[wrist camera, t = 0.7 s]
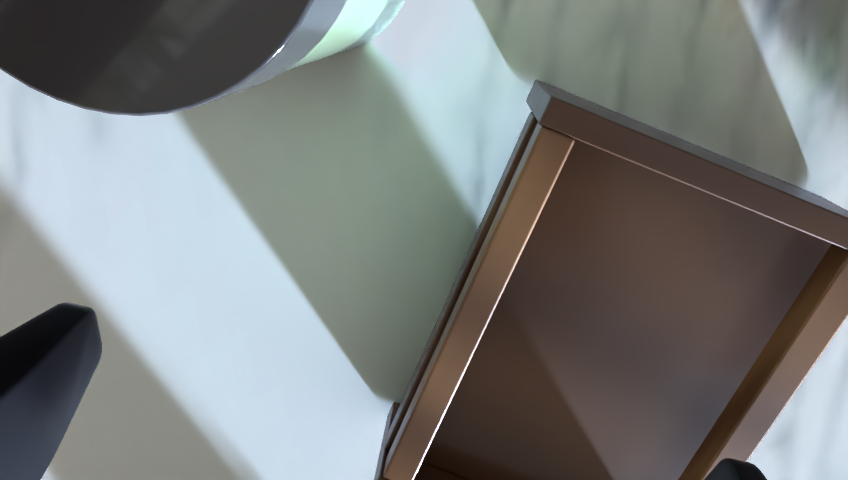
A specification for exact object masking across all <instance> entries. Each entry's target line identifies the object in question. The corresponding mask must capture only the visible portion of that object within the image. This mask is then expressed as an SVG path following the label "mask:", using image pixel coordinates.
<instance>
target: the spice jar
mask: <svg viewBox="0 0 848 480" xmlns="http://www.w3.org/2000/svg"><path fill="white" fill-rule="evenodd" d="M404 2H405V0H0V69H1V70H3V71H4V72H6V73H7V74H9V75H11V76H12V77H14V78H16V79H17V80H19V81H20V82H22V83H24V84H25V85H27V86H29V87H30V88H33V89H35V90H37V91H39V92H41V93H43V94H46V95H48V96H50V97H52V98H54V99H56V100H59V101H62V102H65V103H68V104H71V105H74V106H77V107H80V108H83V109H87V110H92V111H98V112H103V113H108V114H115V115H132V116H146V115H158V114H169V113H173V112H177V111H182V110H186V109H191V108H195V107H197V106H200V105H203V104H206V103H209V102H212V101H215V100H217V99H220V98H223V97H226V96H229V95H232V94H234V93H237V92H240V91H243V90H246V89H249V88H251V87H254V86H256V85H259V84H262V83H264V82H267V81H269V80H271V79H272V78H274V77H276V76H278V75H280V74H281V73H283V72H285V71H287V70H288V69H291V68H294V67H298V66H301V65H304V64H307V63H310V62H313V61H316V60H319V59H322V58H325V57H328V56H331V55H335V54H338V53H341V52H344V51H347V50H350V49H353V48H355V47H358V46H360V45H362V44H364V43H366V42H368V41H370V40H371V39H373V38H374V37H375V36H377V35H378V34H379V33H381V32H382V31H383V30H384V29H385V28H386V27H387V26H388V25H389V24H390V23H391V21H392V20H393V19H394V18H395V16H396V15H397V14H398V12H399V10H400V9H401V7H402V5H403V4H404Z"/></svg>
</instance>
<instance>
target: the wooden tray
mask: <svg viewBox="0 0 848 480" xmlns="http://www.w3.org/2000/svg"><path fill="white" fill-rule="evenodd" d="M526 102H527V104H528V105H529V107H530V109H531V111H532V112H531V113H530V114H529V116H528V119H527V121H526V123H525V125H524V128H523V130H522V132H521V134H520V137H519V139H518V141H517V143H516V145H515V148H514V150H513V152H512V154H511V157H510V159H509V161H508V163H507V166H506V168H505V170H504V172H503V175H502V177H501V179H500V181H499V184H498V186H497V188H496V190H495V193H494V195H493V197H492V199H491V202H490V204H489V206H488V208H487V211H486V213H485V215H484V217H483V220H482V222H481V224H480V226H479V229H478V231H477V233H476V235H475V238H474V240H473V242H472V244H471V247H470V249H469V251H468V253H467V256H466V258H465V260H464V262H463V265H462V267H461V269H460V271H459V274H458V276H457V278H456V280H455V283H454V285H453V287H452V289H451V292H450V294H449V296H448V298H447V301H446V303H445V305H444V307H443V310H442V312H441V314H440V316H439V319H438V321H437V323H436V325H435V328H434V330H433V332H432V334H431V336H430V339H429V341H428V343H427V345H426V348H425V350H424V352H423V354H422V357H421V359H420V361H419V363H418V366H417V368H416V370H415V372H414V375H413V377H412V379H411V381H410V384H409V386H408V388H407V390H406V393H405V395H404V397H403V399H402V402H401V404H400V403H398V402H394V403H393V405H392V407H391V409H390V412H389V414H388V416H387V421H386V426H385V431H384V435H383V440H382V445H381V450H380V454H379V459H378V464H377V469H376V474H375V478H374V480H704V479H705V478H706V477H707V476H708V474H709V473H710V472H711V471H712V470H713V469H714V468H715V466H716V465H717V464H718V463H719V462H720V461H721V460H723V459H725V458H731V459H736V460H740V461H744V462H747V461H748V460H749V458H750V457H751V455H752V454H753V453H754V451H755V450H756V448H757V447H758V445H759V444H760V442H761V441H762V439H763V438H764V437H765V435H766V434H767V432H768V431H769V429H770V428H771V426H772V425H773V424H774V422H775V421H776V419H777V418H778V416H779V415H780V413H781V412H782V410H783V409H784V408H785V406H786V405H787V403H788V402H789V400H790V399H791V397H792V396H793V395H794V393H795V392H796V390H797V389H798V387H799V386H800V384H801V383H802V381H803V380H804V379H805V377H806V376H807V374H808V373H809V371H810V370H811V368H812V367H813V365H814V364H815V363H816V361H817V360H818V358H819V357H820V355H821V354H822V352H823V351H824V350H825V348H826V347H827V345H828V344H829V342H830V341H831V339H832V338H833V336H834V335H835V334H836V332H837V331H838V329H839V328H840V326H841V325H842V323H843V322H844V320H845V319H846V318H847V316H848V211H847V210H845V209H843V208H842V207H840V206H838V205H836V204H834V203H832V202H830V201H828V200H827V199H825V198H823V197H821V196H818V195H816V194H814V193H811V192H809V191H806V190H804V189H802V188H799V187H797V186H794V185H792V184H789V183H787V182H785V181H782V180H780V179H777V178H775V177H772V176H770V175H768V174H765V173H763V172H760V171H758V170H755V169H753V168H751V167H748V166H746V165H743V164H741V163H739V162H736V161H734V160H731V159H729V158H726V157H724V156H722V155H719V154H717V153H714V152H712V151H709V150H707V149H705V148H702V147H700V146H697V145H695V144H692V143H690V142H688V141H685V140H683V139H680V138H678V137H675V136H673V135H671V134H668V133H666V132H663V131H661V130H659V129H656V128H654V127H651V126H649V125H646V124H644V123H642V122H639V121H637V120H634V119H632V118H629V117H627V116H625V115H622V114H620V113H617V112H615V111H612V110H610V109H608V108H605V107H603V106H600V105H598V104H596V103H593V102H591V101H588V100H586V99H583V98H581V97H579V96H576V95H574V94H571V93H569V92H566V91H564V90H562V89H559V88H557V87H554V86H552V85H549V84H547V83H545V82H542V81H540V80H535V82H534V85H533V87H532V89H531V91H530V94H529V96H528V98H527V100H526Z"/></svg>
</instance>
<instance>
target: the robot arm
mask: <svg viewBox="0 0 848 480" xmlns="http://www.w3.org/2000/svg"><path fill="white" fill-rule="evenodd" d="M101 353H102V342H101V337H100V332H99V327H98V322H97V317H96V313H95V312H94V310H93V309H92V308H89V307H85V306H81V305H77V304H73V303H61V304H58V305H56V306H54V307H52V308H51V309H49V310H47V311H45V312H44V313H42V314H40V315H38V316H37V317H35V318H33V319H31V320H29V321H28V322H26V323H24V324H22V325H21V326H19V327H17V328H15V329H14V330H12V331H10V332H8V333H7V334H5V335H3V336H1V337H0V480H40V479H41V478H42V476H43V474H44V473H45V471H46V469H47V467H48V466H49V464H50V462H51V460H52V459H53V457H54V455H55V453H56V451H57V449H58V447H59V445H60V443H61V441H62V439H63V437H64V434H65V432H66V430H67V428H68V426H69V424H70V422H71V420H72V418H73V416H74V413H75V411H76V409H77V407H78V405H79V403H80V401H81V399H82V397H83V394H84V392H85V390H86V388H87V386H88V384H89V382H90V380H91V378H92V375H93V373H94V371H95V369H96V367H97V365H98V363H99V360H100V357H101ZM704 480H767V479H766V478H765V476H764V475H763V473H762V472H761V471H760V470H759V469H758V468H757V467H756V466H755V465H753V464H751V463H748V462H744V461H740V460H736V459H731V458H725V459H723V460H721V461H720V462H719V463H718V464H717V465H716V466H715V468H714V469H713V470H712V471H711V472H710V473H709V474H708V476H707V477H706V478H705V479H704Z"/></svg>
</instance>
